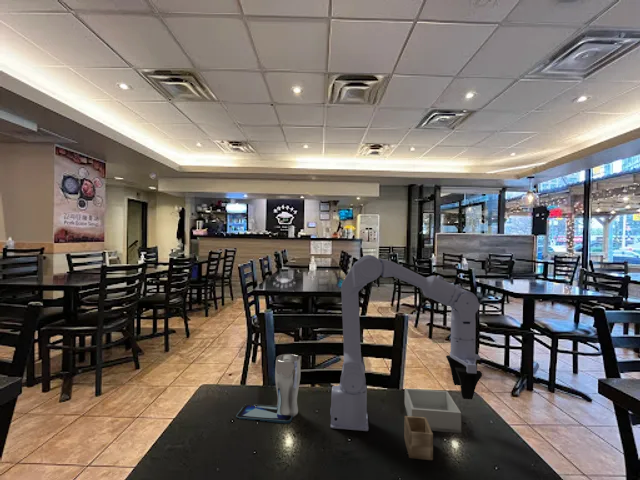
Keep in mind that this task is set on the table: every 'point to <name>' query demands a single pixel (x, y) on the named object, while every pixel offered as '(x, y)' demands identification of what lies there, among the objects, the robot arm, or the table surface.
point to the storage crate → (434, 409)
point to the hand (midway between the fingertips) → (462, 391)
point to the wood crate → (418, 438)
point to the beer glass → (287, 384)
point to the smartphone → (262, 414)
